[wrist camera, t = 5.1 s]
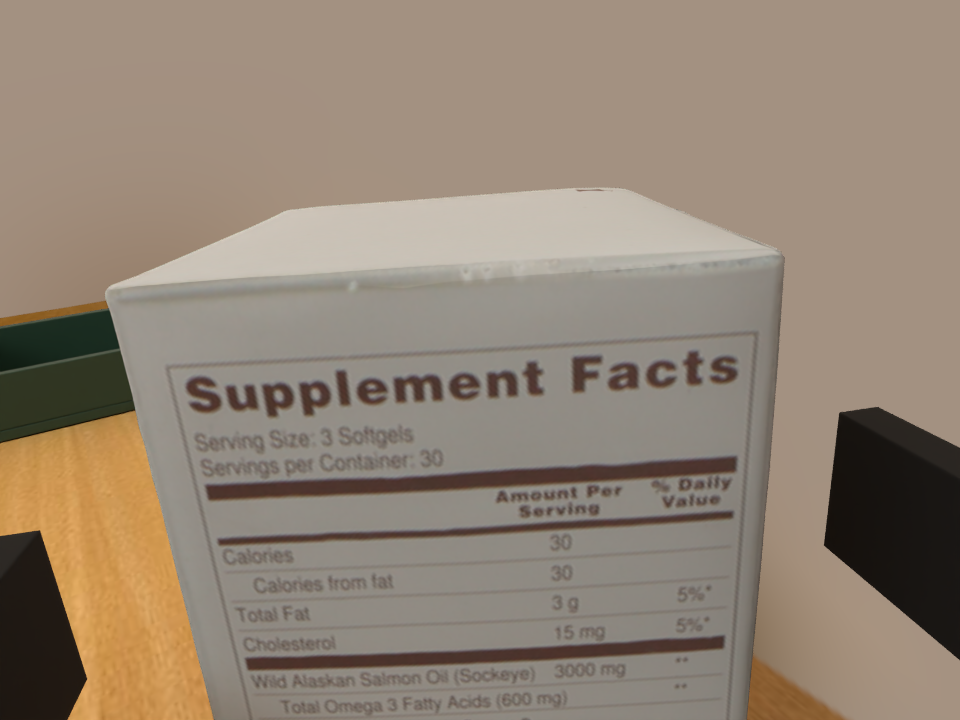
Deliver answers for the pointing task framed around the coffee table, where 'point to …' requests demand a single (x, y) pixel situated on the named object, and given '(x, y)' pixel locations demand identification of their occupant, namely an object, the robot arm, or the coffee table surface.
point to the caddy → (60, 373)
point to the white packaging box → (464, 456)
